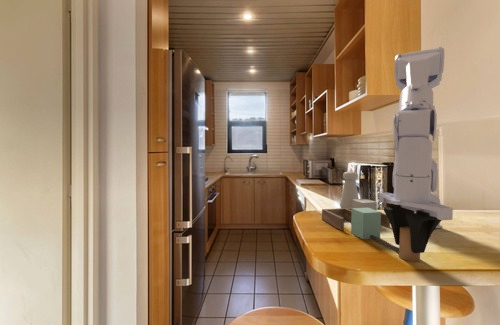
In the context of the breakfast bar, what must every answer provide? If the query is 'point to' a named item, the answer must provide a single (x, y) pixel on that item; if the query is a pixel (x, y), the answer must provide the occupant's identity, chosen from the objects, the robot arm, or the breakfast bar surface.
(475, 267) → the breakfast bar surface
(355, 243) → the breakfast bar surface
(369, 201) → the grey block
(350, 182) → the salt shaker
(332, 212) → the walnut rack
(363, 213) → the tethered block
